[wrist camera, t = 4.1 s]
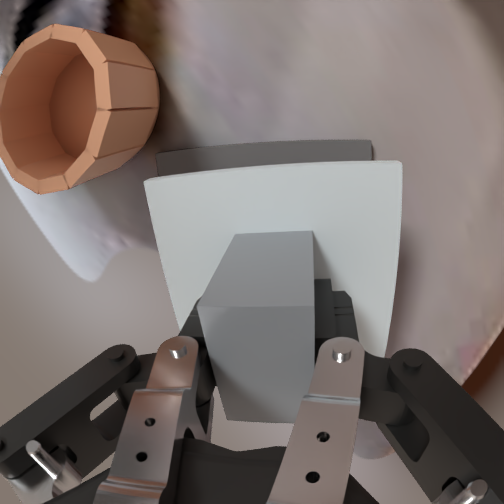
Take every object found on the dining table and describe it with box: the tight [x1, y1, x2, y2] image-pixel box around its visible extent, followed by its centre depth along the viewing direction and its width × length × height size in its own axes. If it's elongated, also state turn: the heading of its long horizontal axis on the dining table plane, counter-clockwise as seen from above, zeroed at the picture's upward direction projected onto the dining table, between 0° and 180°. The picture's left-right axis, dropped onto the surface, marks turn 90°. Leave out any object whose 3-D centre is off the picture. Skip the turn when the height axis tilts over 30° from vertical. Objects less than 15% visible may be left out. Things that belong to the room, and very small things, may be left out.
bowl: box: [0, 24, 160, 195], centre depth 13 cm, size 8×8×5 cm
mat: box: [155, 140, 372, 177], centre depth 18 cm, size 11×11×1 cm
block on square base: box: [143, 161, 402, 423], centre depth 12 cm, size 10×10×6 cm
